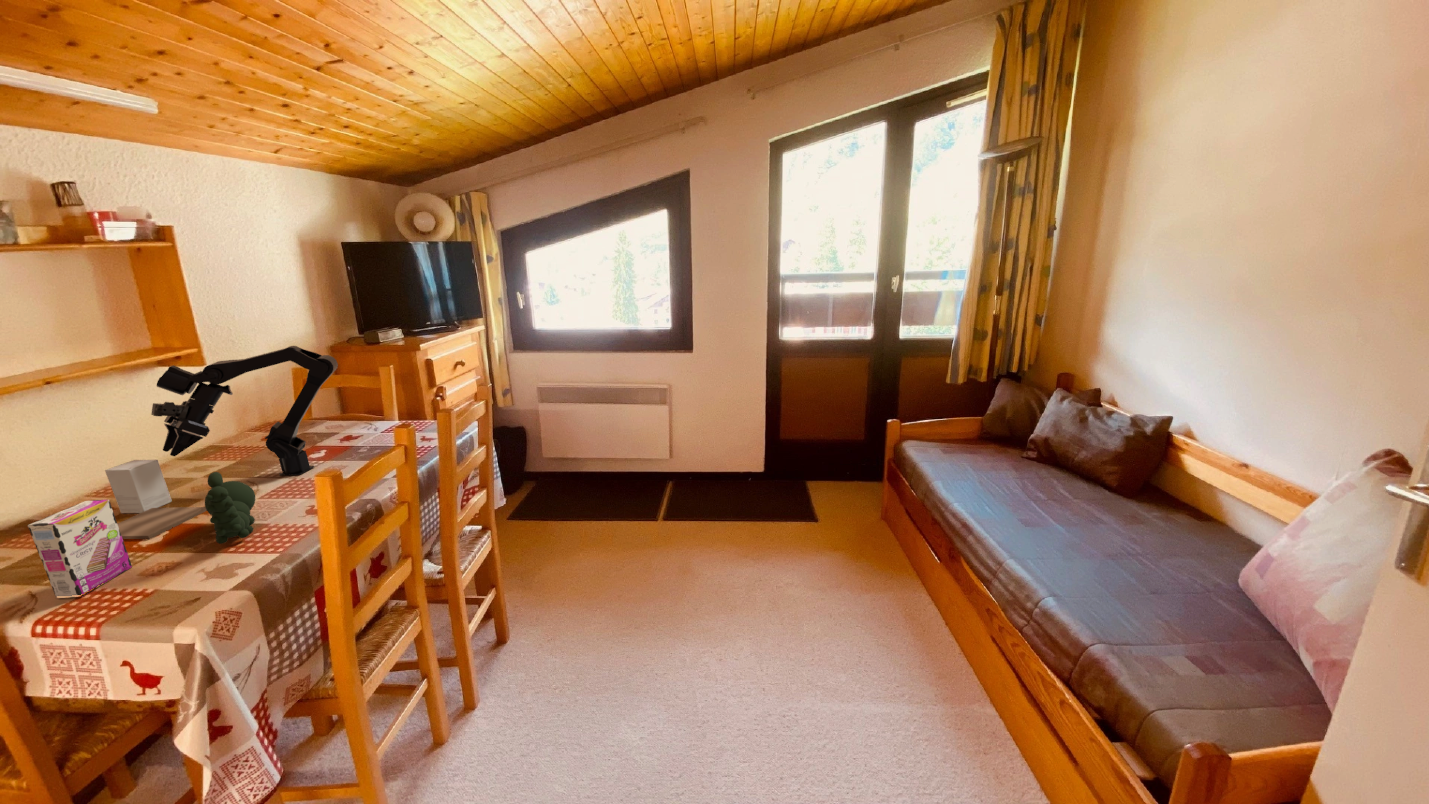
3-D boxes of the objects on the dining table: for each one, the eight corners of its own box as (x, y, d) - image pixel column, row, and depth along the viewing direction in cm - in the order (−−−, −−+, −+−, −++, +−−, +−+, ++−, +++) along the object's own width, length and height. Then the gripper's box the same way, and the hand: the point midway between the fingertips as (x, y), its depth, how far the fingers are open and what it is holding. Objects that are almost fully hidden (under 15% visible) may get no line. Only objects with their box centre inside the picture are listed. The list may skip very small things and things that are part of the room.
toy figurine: (262, 548, 128) (261, 504, 146) (240, 476, 121) (241, 439, 140) (209, 563, 122) (214, 515, 140) (182, 489, 116) (192, 448, 134)
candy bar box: (83, 598, 108) (52, 523, 104) (55, 600, 108) (24, 525, 103) (135, 566, 119) (110, 498, 114) (111, 568, 119) (84, 499, 114)
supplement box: (173, 501, 151) (159, 459, 148) (144, 514, 144) (128, 469, 141) (149, 501, 152) (135, 458, 149) (119, 513, 145) (103, 469, 141)
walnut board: (207, 510, 145) (206, 506, 145) (149, 539, 130) (148, 535, 130) (153, 511, 145) (152, 507, 145) (89, 540, 131) (88, 536, 131)
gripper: (158, 387, 154) (124, 438, 150) (174, 392, 143) (136, 447, 139) (206, 404, 163) (174, 452, 158) (224, 409, 152) (190, 462, 147)
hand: (168, 453), depth 150 cm, fingers open, 9 cm apart
